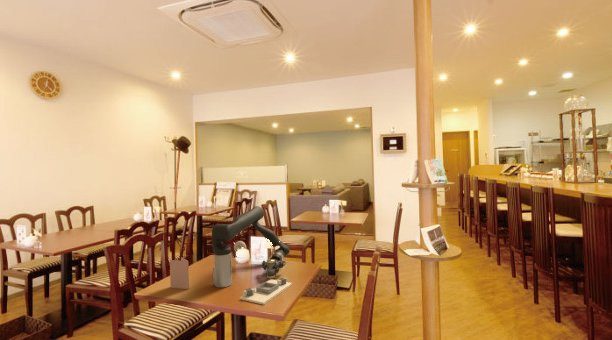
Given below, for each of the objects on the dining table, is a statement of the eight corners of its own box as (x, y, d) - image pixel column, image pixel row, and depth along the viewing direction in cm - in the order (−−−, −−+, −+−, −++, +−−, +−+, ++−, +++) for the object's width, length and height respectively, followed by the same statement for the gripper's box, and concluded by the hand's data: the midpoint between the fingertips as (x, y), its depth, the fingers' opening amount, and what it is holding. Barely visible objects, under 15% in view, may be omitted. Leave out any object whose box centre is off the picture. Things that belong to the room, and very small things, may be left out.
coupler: (265, 278, 174) (264, 260, 174) (270, 275, 178) (269, 258, 178) (272, 279, 172) (271, 261, 172) (276, 276, 176) (276, 259, 176)
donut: (233, 254, 224) (232, 241, 224) (235, 253, 227) (235, 240, 227) (244, 255, 220) (244, 241, 220) (247, 254, 224) (247, 240, 224)
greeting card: (190, 288, 161) (189, 260, 161) (176, 292, 156) (175, 263, 156) (183, 282, 170) (182, 256, 169) (169, 286, 165) (168, 259, 165)
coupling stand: (240, 299, 146) (240, 291, 146) (270, 280, 169) (270, 274, 169) (263, 304, 140) (263, 297, 140) (292, 284, 163) (291, 278, 163)
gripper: (265, 253, 190) (257, 261, 173) (287, 253, 188) (281, 262, 171) (265, 265, 190) (257, 274, 173) (287, 265, 188) (282, 275, 171)
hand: (269, 268), depth 172 cm, fingers open, 5 cm apart
